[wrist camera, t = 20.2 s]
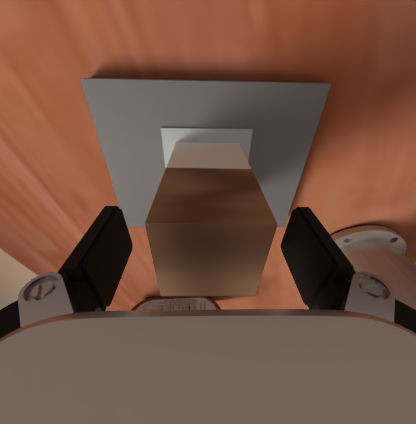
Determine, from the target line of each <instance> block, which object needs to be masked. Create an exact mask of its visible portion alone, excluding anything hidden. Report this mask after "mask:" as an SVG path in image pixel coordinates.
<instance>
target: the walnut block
mask: <svg viewBox="0 0 416 424" xmlns="http://www.w3.org/2000/svg"><path fill="white" fill-rule="evenodd" d="M145 226H146V230H147V235H148V240H149V244H150V249H151V254H152V258H153V263H154V267H155V272H156V277H157V281H158V286H159V291H160V295H161V296H255V295H256V292H257V288H258V285H259V282H260V279H261V276H262V272H263V269H264V266H265V263H266V260H267V256H268V253H269V250H270V247H271V244H272V240H273V237H274V234H275V231H276V228H277V222H276V220H275V218H274V216H273V213H272V211H271V209H270V207H269V205H268V203H267V201H266V198H265V196H264V194H263V192H262V190H261V188H260V186H259V184H258V181H257V179H256V177H255V175H254V173H253V171H252V169H219V168H166V169H165V171H164V174H163V177H162V179H161V182H160V184H159V187H158V190H157V192H156V195H155V198H154V200H153V203H152V205H151V208H150V211H149V213H148V216H147V219H146V221H145Z"/></svg>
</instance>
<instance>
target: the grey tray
mask: <svg viewBox="0 0 416 424" xmlns="http://www.w3.org/2000/svg"><path fill="white" fill-rule="evenodd" d="M80 81H81V84H82V87H83V90H84V94H85V97H86V100H87V103H88V107H89V110H90V113H91V116H92V119H93V123H94V126H95V129H96V132H97V136H98V139H99V142H100V145H101V149H102V152H103V155H104V158H105V162H106V165H107V168H108V171H109V175H110V178H111V181H112V184H113V188H114V191H115V194H116V197H117V201H118V204H119V207H120V209H122V211H123V215H124V218H125V221H126V225H127V227H146V226H145V221H146V219H147V216H148V213H149V211H150V208H151V205H152V203H153V200H154V198H155V195H156V192H157V190H158V187H159V184H160V182H161V179H162V177H163V174H164V171H165V169H166V167H167V165H168V162H169V159H170V157H171V154H172V151H173V149H174V146H175V143H176V142H199V143H239V144H240V146H241V148H242V150H243V152H244V154H245V157H246V159H247V161H248V163H249V165H250V167H251V169H252V171H253V173H254V175H255V177H256V179H257V181H258V184H259V186H260V188H261V190H262V192H263V194H264V196H265V198H266V201H267V203H268V205H269V207H270V209H271V211H272V213H273V216H274V218H275V220H276V222H277V227H284V226H285V223H286V220H287V217H288V214H289V211H290V208H291V205H292V202H293V199H294V196H295V193H296V190H297V187H298V184H299V181H300V178H301V175H302V172H303V169H304V166H305V163H306V160H307V157H308V154H309V150H310V147H311V144H312V141H313V138H314V135H315V132H316V129H317V126H318V123H319V120H320V117H321V114H322V111H323V108H324V105H325V102H326V99H327V96H328V93H329V90H330V87H331V84H330V83H322V82H278V81H230V80H182V79H135V78H80Z"/></svg>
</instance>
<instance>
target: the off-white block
mask: <svg viewBox="0 0 416 424" xmlns="http://www.w3.org/2000/svg"><path fill="white" fill-rule="evenodd" d="M166 168H219V169H251V167H250V165H249V163H248V161H247V159H246V157H245V154H244V152H243V150H242V148H241V146H240V144H239V143H199V142H176V143H175V146H174V149H173V151H172V154H171V157H170V159H169V162H168V165H167V167H166Z"/></svg>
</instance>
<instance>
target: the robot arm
mask: <svg viewBox="0 0 416 424" xmlns="http://www.w3.org/2000/svg"><path fill="white" fill-rule="evenodd" d="M281 250H282V253H283V255H284V257H285V260H286V262H287V264H288V267H289V269H290V271H291V274H292V276H293V278H294V281H295V283H296V286H297V288H298V290H299V293H300V295H301V297H302V300H303V302H304V304H305V305H308V307H309V309H310V310H304V309H243V310H136V311H105V309H106V307H107V306H109V305H110V304H111V302H112V299H113V297H114V294H115V292H116V289H117V287H118V284H119V281H120V279H121V276H122V274H123V271H124V269H125V266H126V264H127V261H128V259H129V256H130V254H131V251H132V241H131V238H130V235H129V231H128V228H127V225H126V221H125V218H124V215H123V211H122V209H119V208H118V207H117V206H105V207H104V208H103V210H102V211H101V213H100V214H99V215H98V217H97V218H96V220H95V221H94V222H93V224H92V225H91V227H90V228H89V229H88V231H87V232H86V233H85V235H84V236H83V238H82V239H81V240H80V242H79V243H78V245H77V246H76V247H75V249H74V250H73V252H72V253H71V254H70V256H69V257H68V259H67V260H66V261H65V263H64V264H63V266H62V267H61V268H60V270H59V271H58V273H54V272H50V273H45V274H42V275H39V276H37V277H35V278H34V279H32V280H31V281H29V282H28V283H27V284H26V285H25V286H24V287H23V288H22V289H21V291H20V293H19V295H18V300H17V301H16V302H14V303H12V304H10V305H8V306H6V307H5V308H3V309H1V310H0V424H416V265H415V264H414V263H413V262H412V261H411V260H410V259H409V258H408V257H407V256H405V254H406V251H407V245H406V242H405V240H404V239H403V238H402V237H401V236H400V235H399V234H398V233H397V232H395V231H394V230H392V229H390V228H387V227H383V226H378V225H367V226H359V227H354V228H350V229H346V230H343V231H340V232H338V233H335V234H333V235H331V236H330V235H329V233H328V232H327V231H326V229H325V228H324V227H323V225H322V224H321V223H320V221H319V220H318V219H317V217H316V216H315V215H314V213H313V212H312V211H311V209H310V208H309V207H297V208H296V209H295V210H293V211H292V214H291V217H290V219H289V222H288V225H287V228H286V231H285V234H284V237H283V240H282V243H281Z"/></svg>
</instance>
